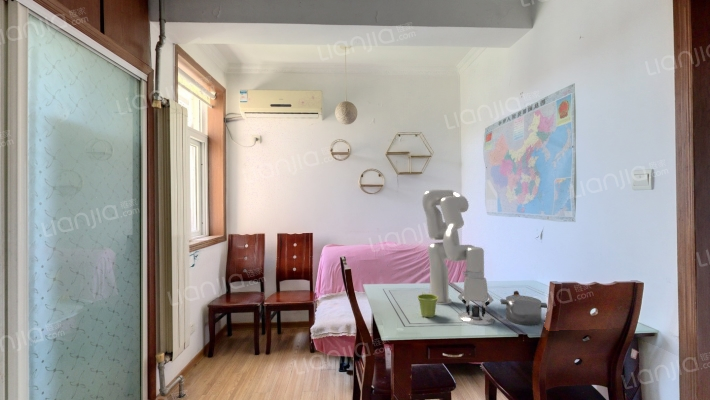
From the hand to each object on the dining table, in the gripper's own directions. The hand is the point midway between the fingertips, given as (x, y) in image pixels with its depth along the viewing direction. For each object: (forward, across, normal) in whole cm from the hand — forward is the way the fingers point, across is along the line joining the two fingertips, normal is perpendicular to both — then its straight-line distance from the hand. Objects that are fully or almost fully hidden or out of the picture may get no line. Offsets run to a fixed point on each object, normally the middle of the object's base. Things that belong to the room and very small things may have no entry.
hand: (475, 314), depth 148 cm
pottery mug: (+2, +21, +24) cm, 32 cm away
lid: (+2, 0, 0) cm, 2 cm away
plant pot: (+2, -21, -2) cm, 21 cm away
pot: (+2, +20, +5) cm, 21 cm away
